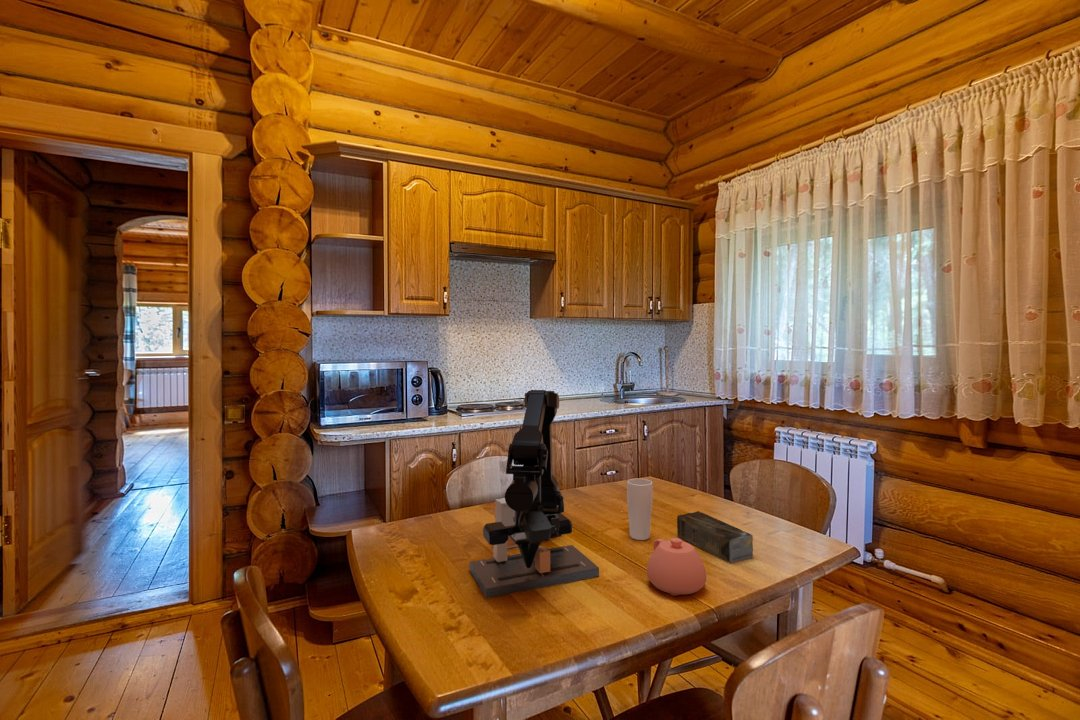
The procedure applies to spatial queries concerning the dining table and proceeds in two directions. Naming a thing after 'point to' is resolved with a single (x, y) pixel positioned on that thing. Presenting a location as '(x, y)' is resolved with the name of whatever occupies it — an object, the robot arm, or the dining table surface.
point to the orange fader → (542, 559)
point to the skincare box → (505, 517)
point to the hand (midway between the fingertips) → (528, 567)
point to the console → (531, 572)
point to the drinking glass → (639, 507)
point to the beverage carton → (715, 536)
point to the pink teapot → (676, 567)
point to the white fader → (500, 552)
